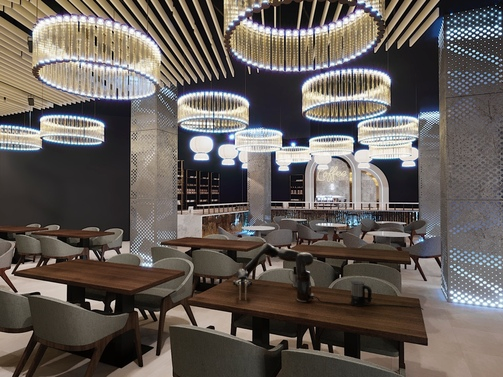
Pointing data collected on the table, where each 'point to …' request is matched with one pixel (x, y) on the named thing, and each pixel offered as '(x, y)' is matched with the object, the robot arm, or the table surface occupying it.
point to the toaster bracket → (240, 290)
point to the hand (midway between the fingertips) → (242, 285)
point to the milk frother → (360, 293)
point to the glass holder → (294, 277)
